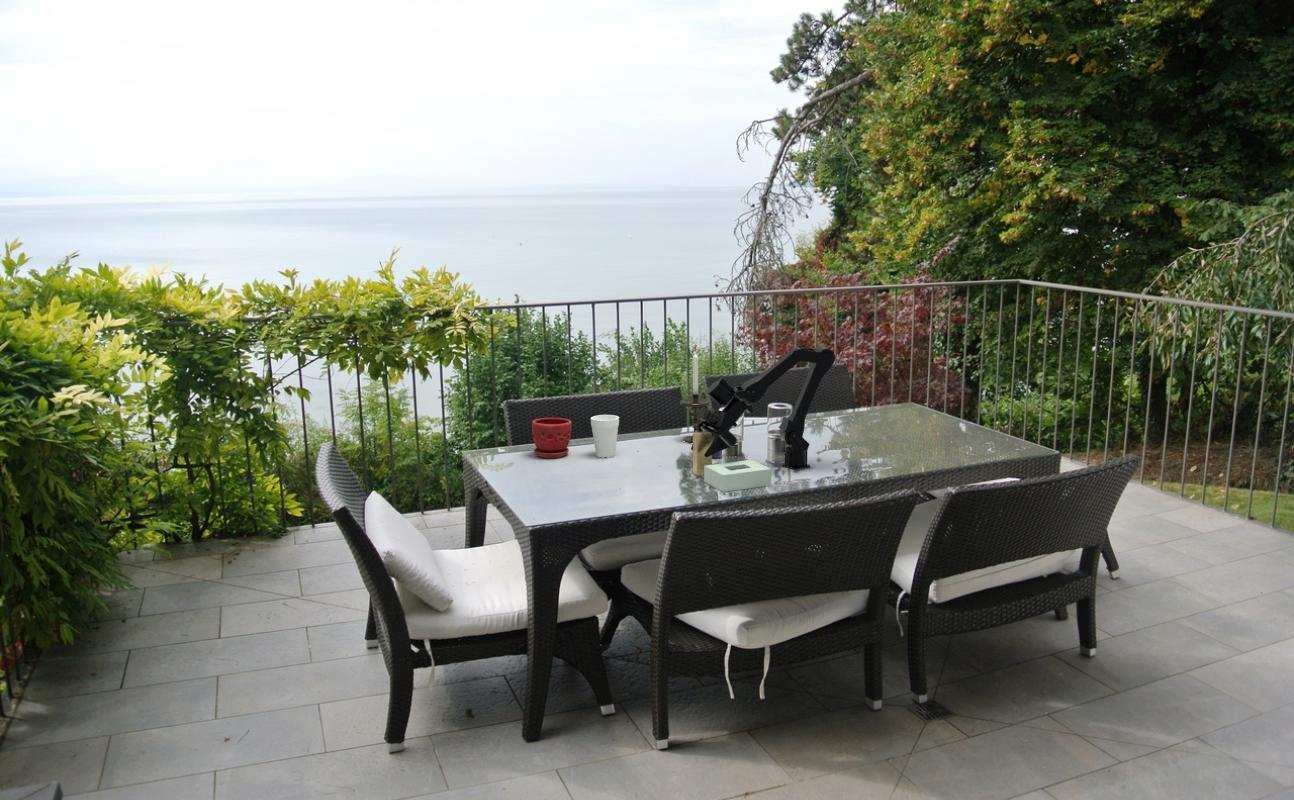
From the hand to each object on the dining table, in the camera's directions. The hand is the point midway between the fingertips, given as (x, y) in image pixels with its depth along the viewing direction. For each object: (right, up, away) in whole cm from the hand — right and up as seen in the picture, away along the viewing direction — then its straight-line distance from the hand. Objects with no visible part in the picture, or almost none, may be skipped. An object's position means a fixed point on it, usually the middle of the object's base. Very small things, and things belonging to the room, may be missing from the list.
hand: (698, 453), depth 293 cm
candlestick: (+1, +2, +45) cm, 45 cm away
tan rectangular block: (+1, -6, +2) cm, 7 cm away
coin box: (+11, -8, -10) cm, 17 cm away
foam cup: (-30, -2, +26) cm, 39 cm away
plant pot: (-48, -2, +27) cm, 55 cm away
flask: (+4, -3, +21) cm, 22 cm away
